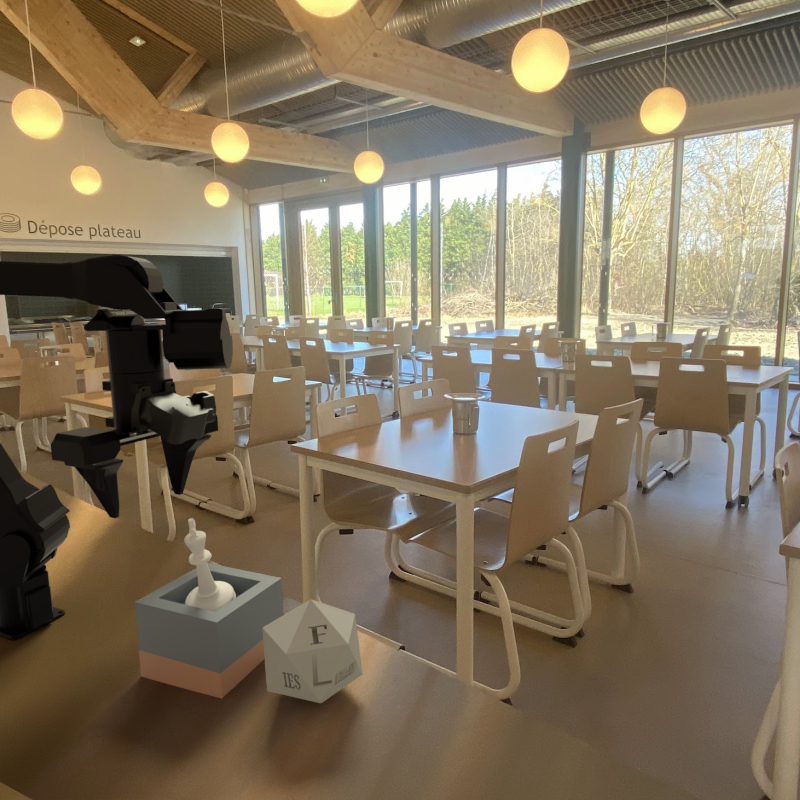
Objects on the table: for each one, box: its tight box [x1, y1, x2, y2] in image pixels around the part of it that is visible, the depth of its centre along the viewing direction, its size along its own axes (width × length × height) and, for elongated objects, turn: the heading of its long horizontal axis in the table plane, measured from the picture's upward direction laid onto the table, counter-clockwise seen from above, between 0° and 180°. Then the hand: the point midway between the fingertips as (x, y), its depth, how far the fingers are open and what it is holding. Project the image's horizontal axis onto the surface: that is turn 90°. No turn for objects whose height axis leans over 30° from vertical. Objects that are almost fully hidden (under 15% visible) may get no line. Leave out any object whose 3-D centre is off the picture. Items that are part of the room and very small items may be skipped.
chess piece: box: [183, 517, 236, 612], centre depth 63 cm, size 5×5×10 cm
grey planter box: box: [134, 562, 284, 699], centre depth 65 cm, size 10×10×8 cm
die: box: [262, 599, 364, 704], centre depth 58 cm, size 8×9×10 cm
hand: (148, 505), depth 75 cm, fingers open, 9 cm apart
